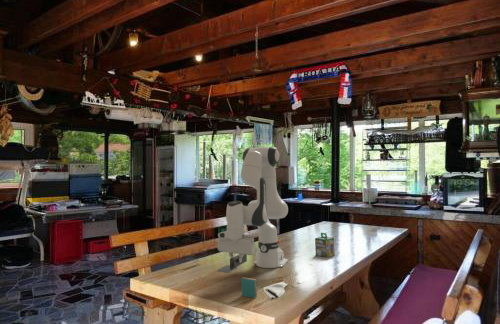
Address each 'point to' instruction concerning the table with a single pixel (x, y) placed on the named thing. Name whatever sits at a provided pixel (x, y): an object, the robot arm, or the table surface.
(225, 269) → the turner
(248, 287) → the tile
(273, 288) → the cloth
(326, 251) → the chalk box
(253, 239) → the robot arm
